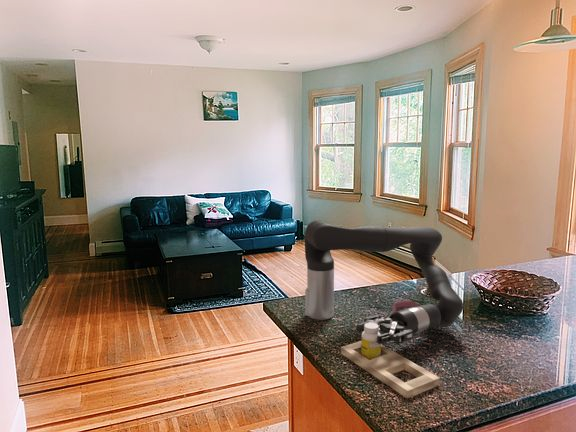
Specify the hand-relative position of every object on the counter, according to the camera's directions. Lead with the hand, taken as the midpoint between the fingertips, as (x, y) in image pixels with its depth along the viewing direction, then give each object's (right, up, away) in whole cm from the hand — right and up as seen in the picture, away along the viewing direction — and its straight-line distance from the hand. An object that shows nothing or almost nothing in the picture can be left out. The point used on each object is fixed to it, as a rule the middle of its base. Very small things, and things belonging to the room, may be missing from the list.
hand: (367, 334), depth 121 cm
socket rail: (+5, -8, -4) cm, 10 cm away
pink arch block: (+19, -2, +30) cm, 36 cm away
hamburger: (+35, +1, +52) cm, 63 cm away
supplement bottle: (+1, -8, +2) cm, 8 cm away
